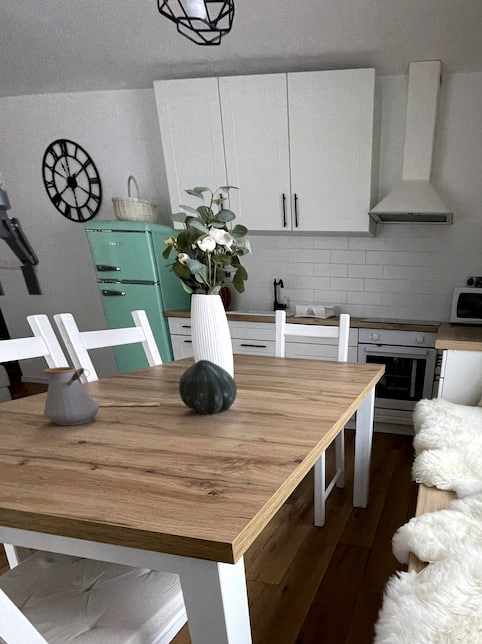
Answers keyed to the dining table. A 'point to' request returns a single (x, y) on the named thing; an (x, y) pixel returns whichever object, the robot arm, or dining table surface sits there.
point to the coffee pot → (68, 397)
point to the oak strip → (126, 404)
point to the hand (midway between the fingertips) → (18, 295)
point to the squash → (207, 387)
